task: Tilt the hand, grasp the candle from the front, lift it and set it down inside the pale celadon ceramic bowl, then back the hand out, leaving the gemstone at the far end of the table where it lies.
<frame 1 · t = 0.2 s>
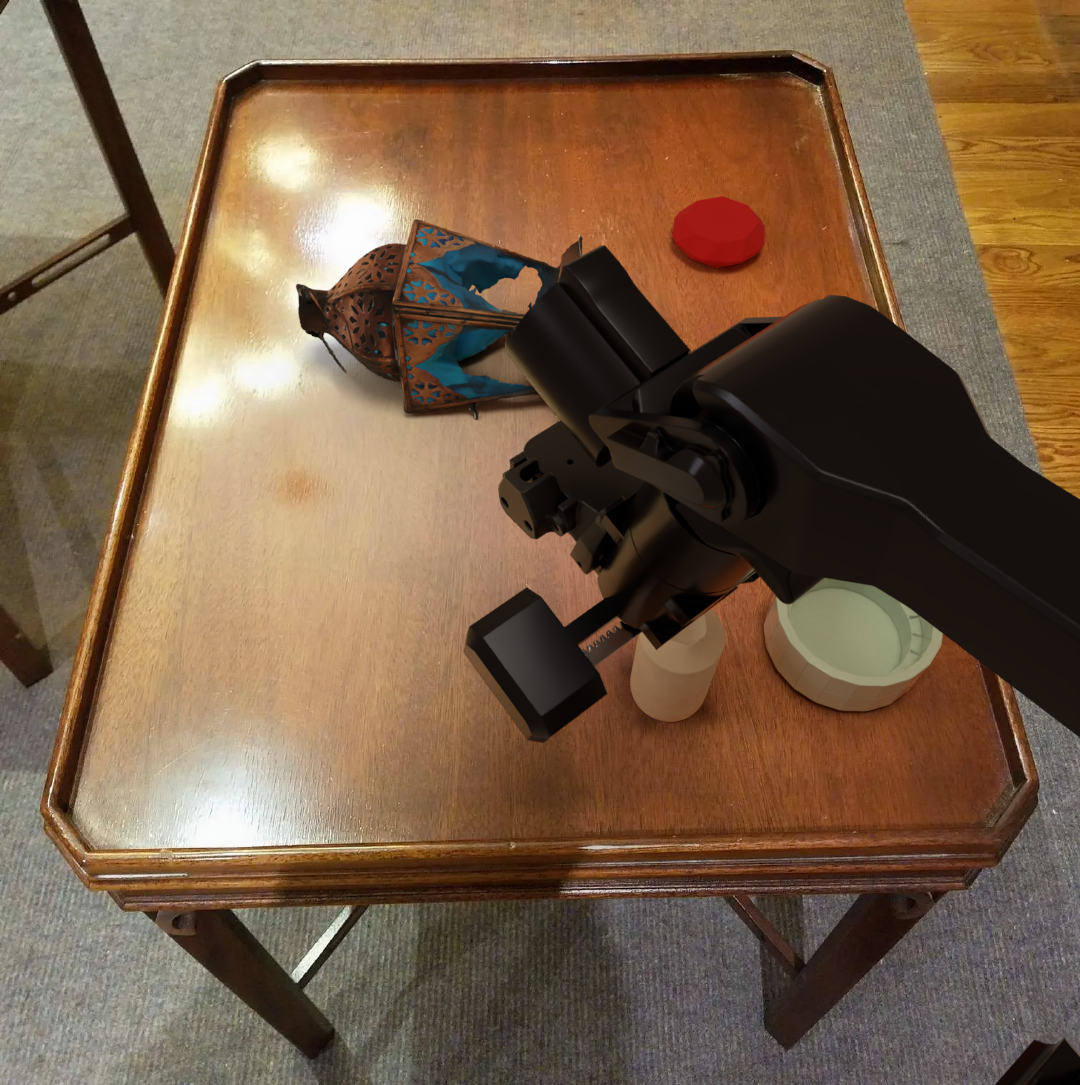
hand: (611, 626, 52), 15 cm above the table, tool pointing down, fingers open, 9 cm apart
bowl: (840, 641, 68), on the table
gemstone: (715, 245, 92), on the table
lantern: (454, 366, 83), on the table
candle: (667, 688, 66), on the table
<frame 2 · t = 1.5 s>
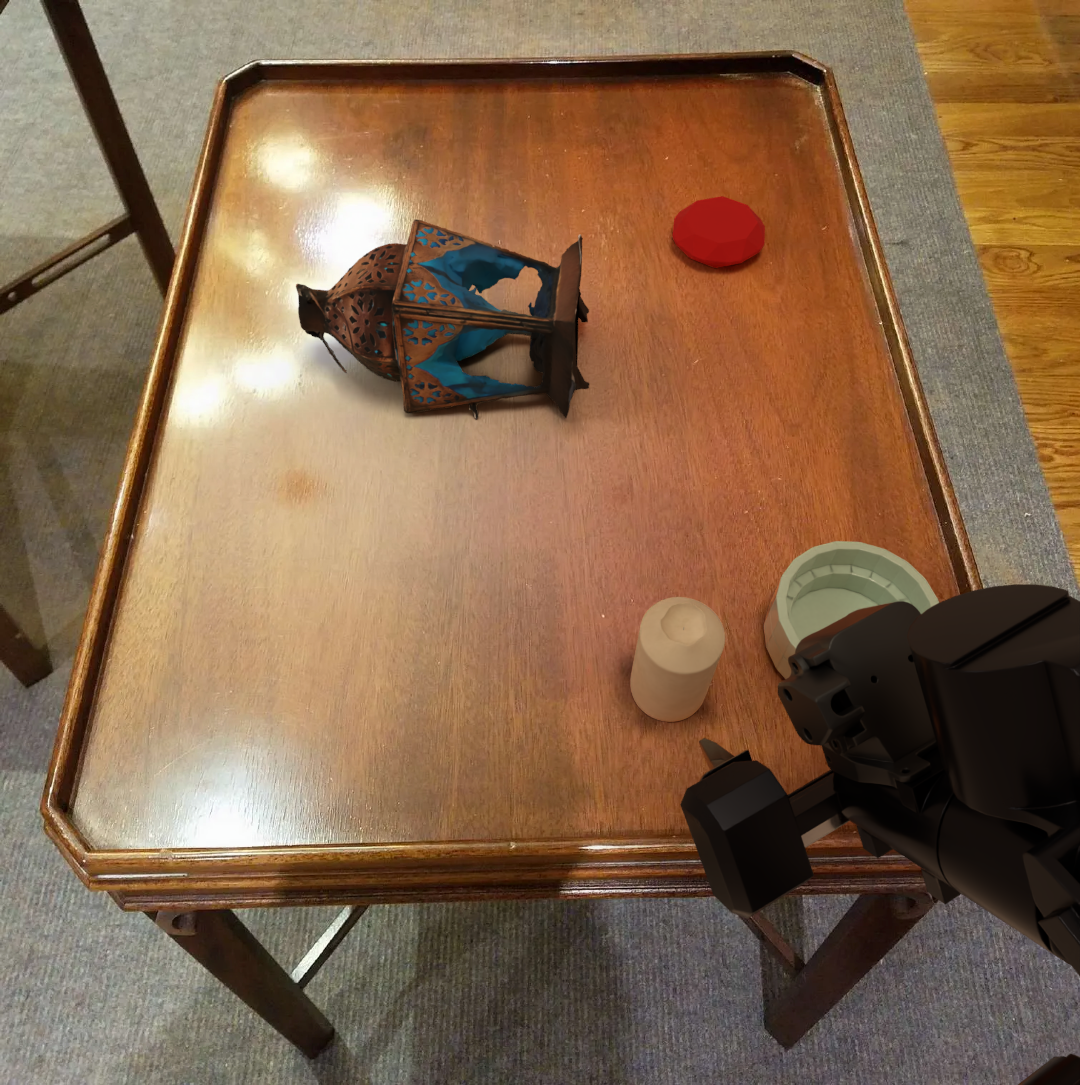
hand: (772, 708, 51), 13 cm above the table, tool tilted 45°, fingers open, 9 cm apart
nothing on the table moved.
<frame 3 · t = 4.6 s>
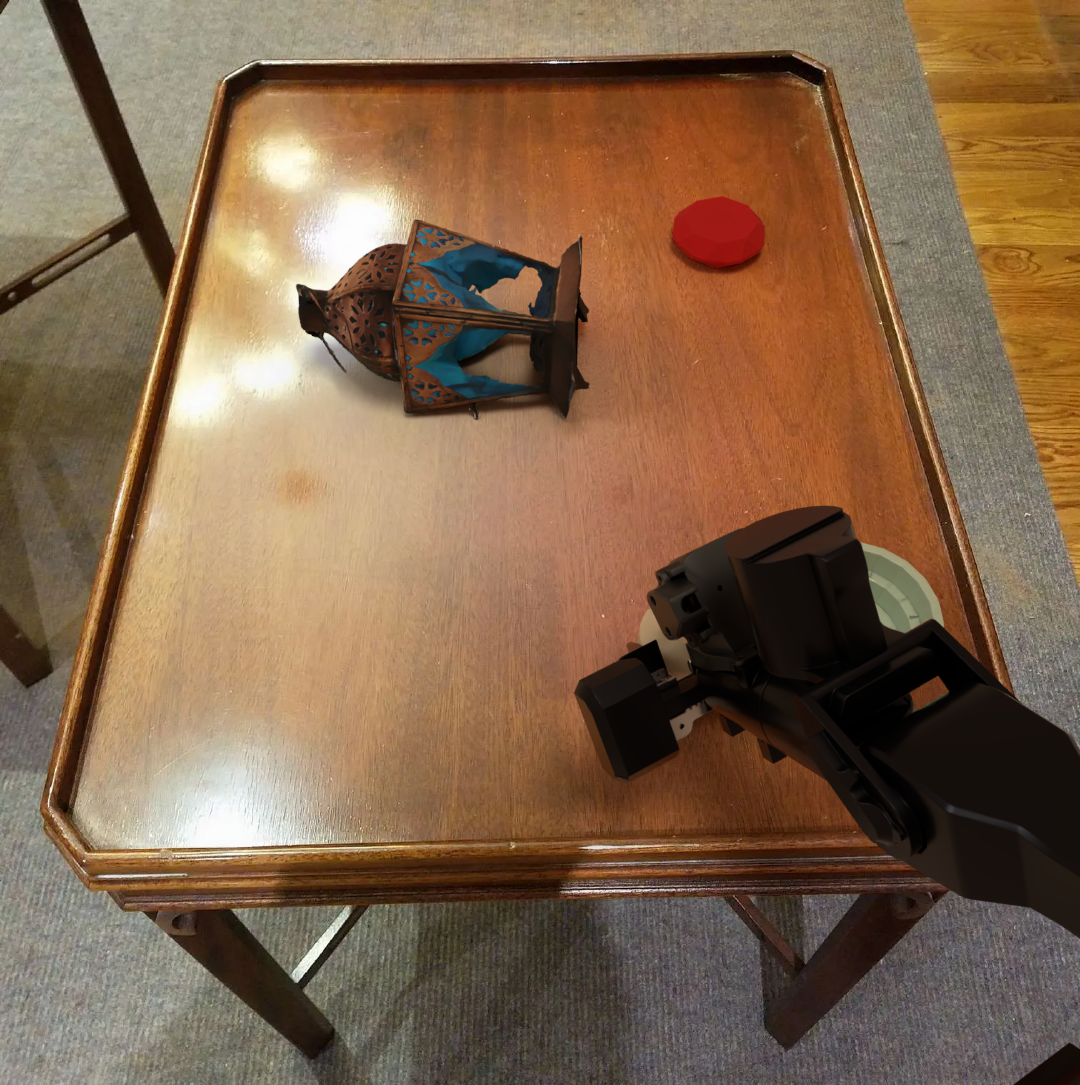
hand: (667, 630, 61), 7 cm above the table, tool tilted 45°, fingers closed on candle, 5 cm apart
candle: (667, 688, 66), on the table, touching gripper
everything else where it was.
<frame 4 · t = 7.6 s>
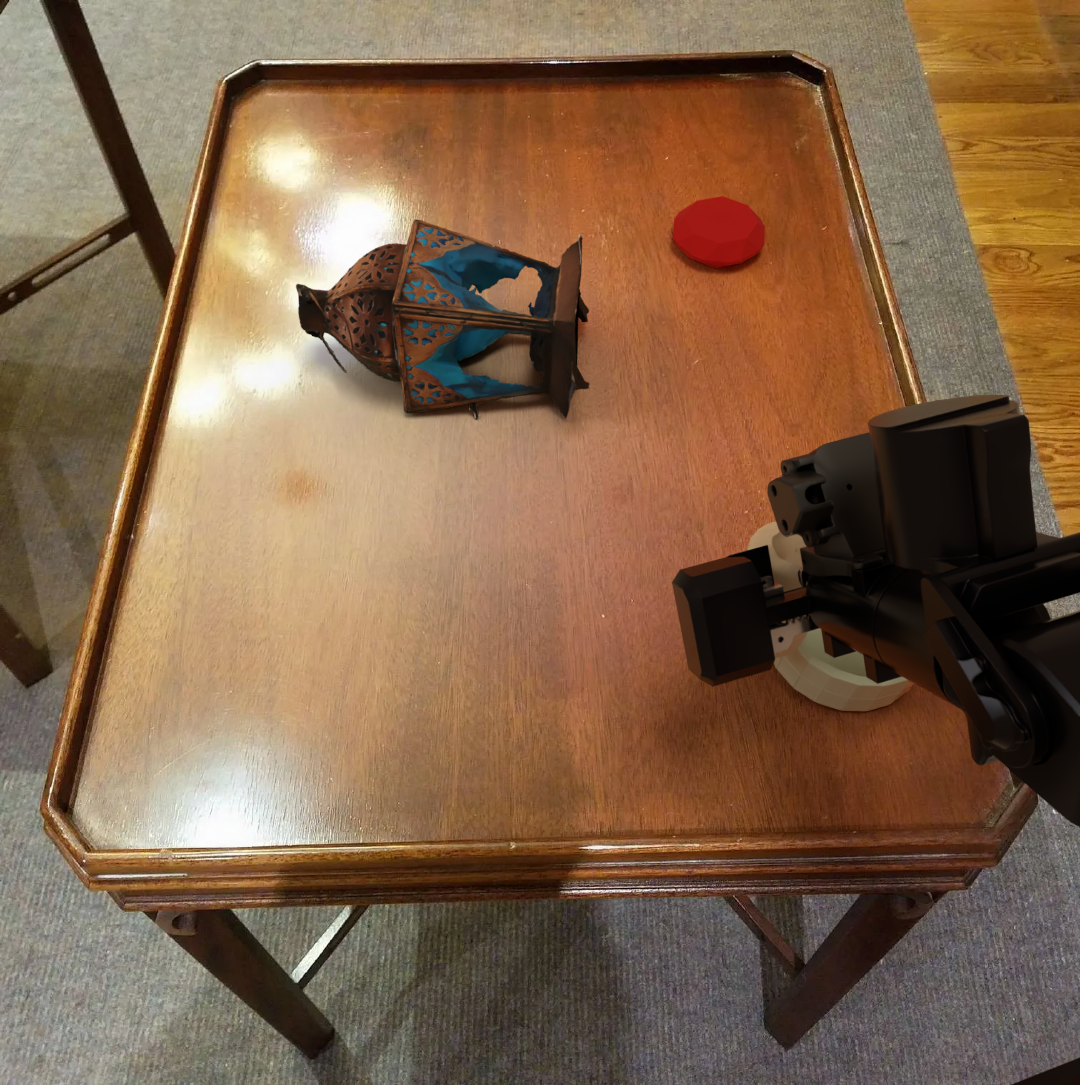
hand: (777, 555, 58), 12 cm above the table, tool tilted 45°, fingers closed on candle, 5 cm apart
candle: (764, 624, 63), point 5 cm above the table, touching gripper
everything else where it was.
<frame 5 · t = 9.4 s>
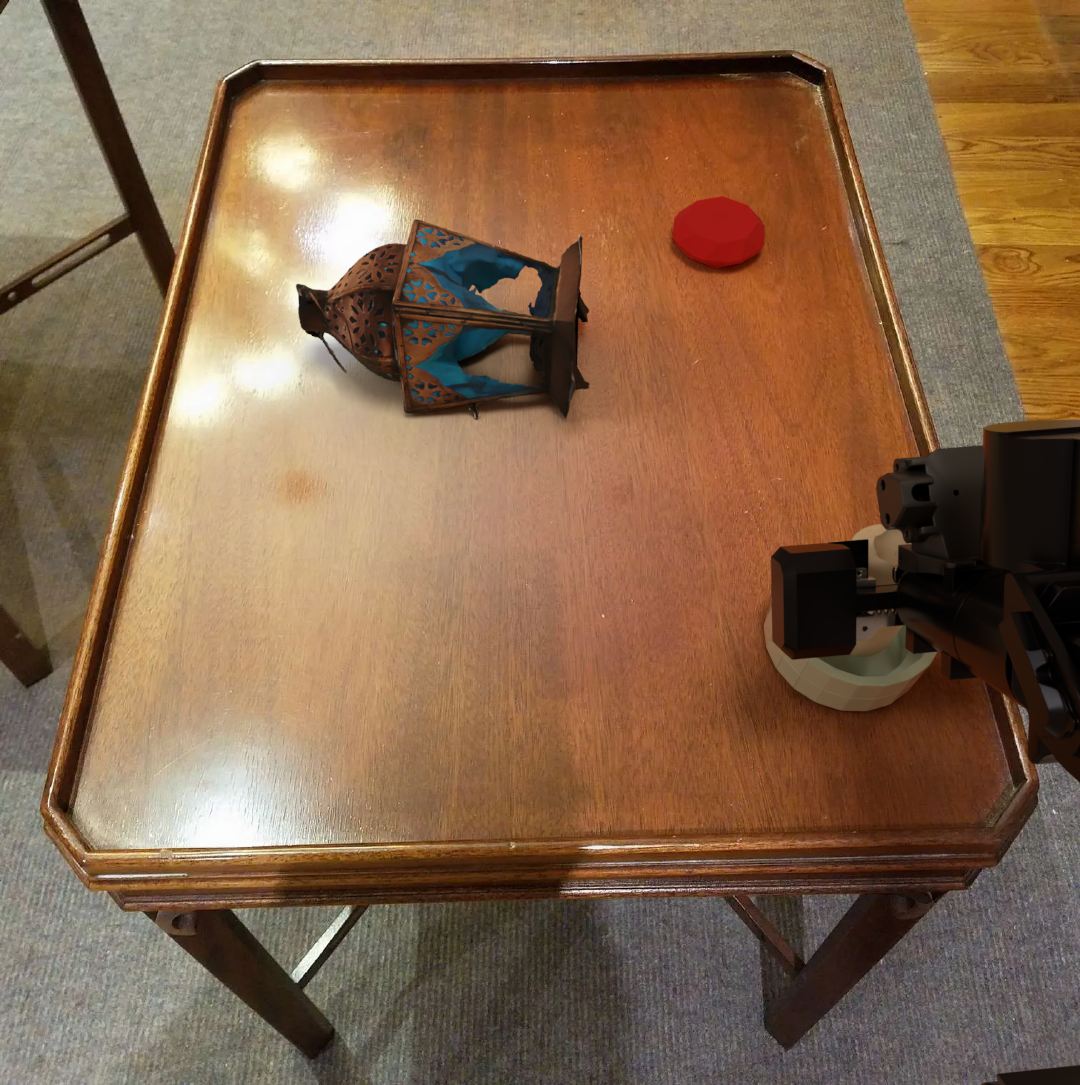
hand: (876, 558, 60), 10 cm above the table, tool tilted 45°, fingers closed on candle, 5 cm apart
candle: (853, 624, 65), point 3 cm above the table, touching gripper
everything else where it was.
when the fingers open (7 cm above the table, at t = 10.8 s): candle stays where it is, resting on bowl.
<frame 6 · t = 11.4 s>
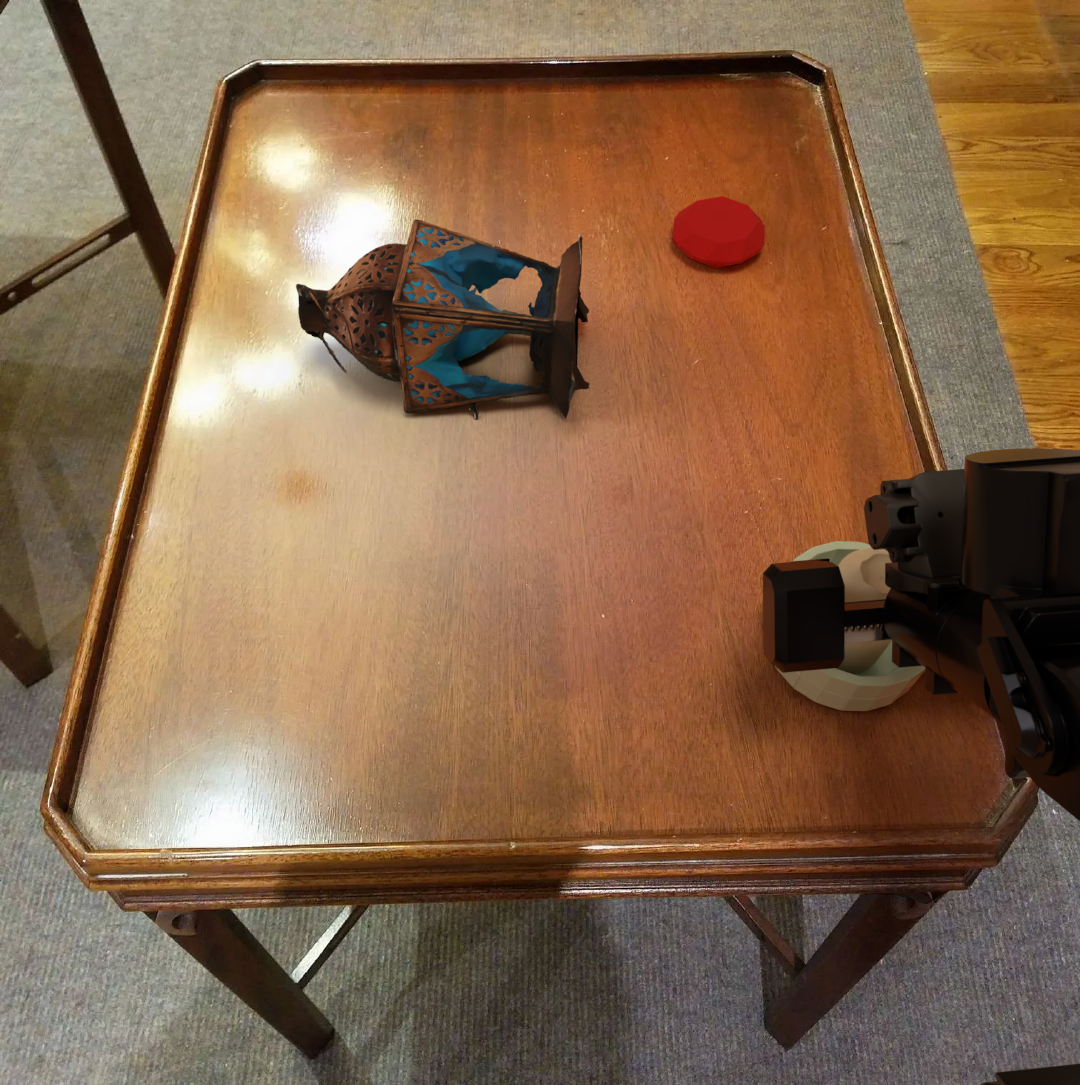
hand: (866, 570, 62), 8 cm above the table, tool tilted 45°, fingers open, 9 cm apart
candle: (841, 642, 68), resting on bowl
everything else where it was.
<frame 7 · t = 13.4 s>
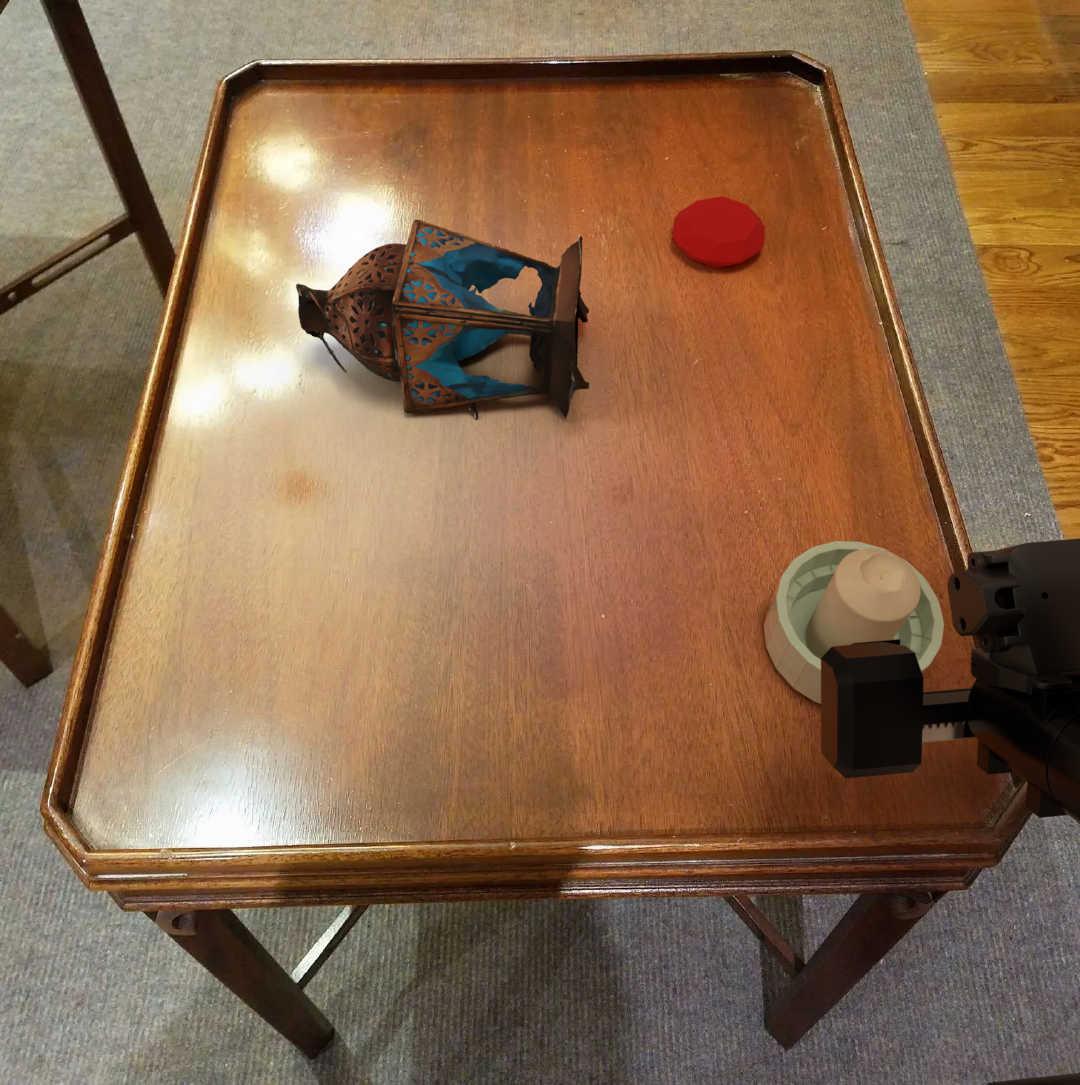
hand: (933, 643, 53), 13 cm above the table, tool tilted 45°, fingers open, 9 cm apart
nothing on the table moved.
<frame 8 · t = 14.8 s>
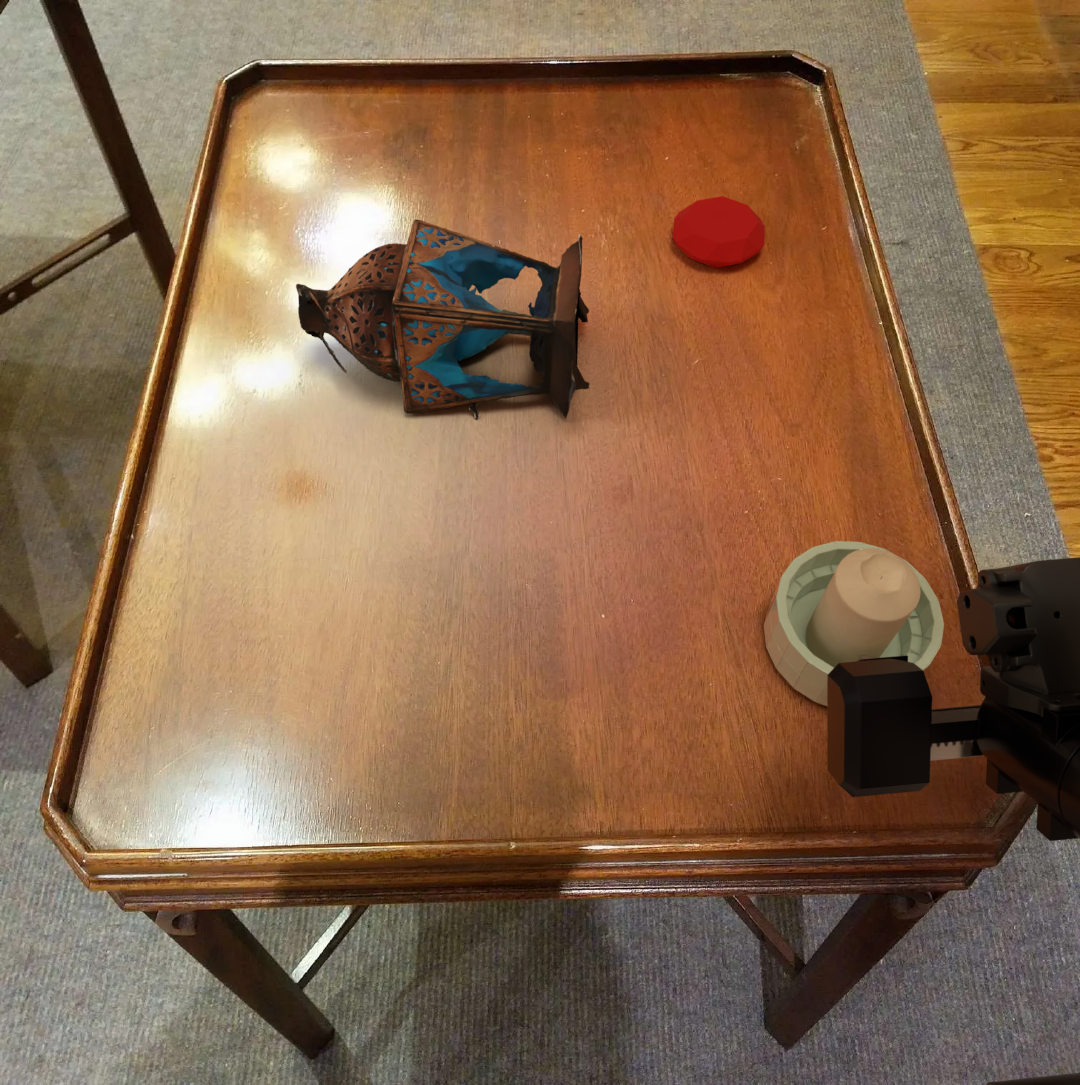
hand: (940, 656, 52), 14 cm above the table, tool tilted 45°, fingers open, 9 cm apart
nothing on the table moved.
at the end: candle inside the target area in the bowl (0.2 cm from its centre), point 0.3 cm above the bowl's base; candle tilted 0°; gemstone moved 0.2 cm from its start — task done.
